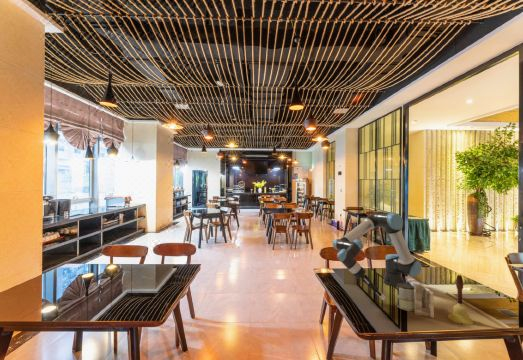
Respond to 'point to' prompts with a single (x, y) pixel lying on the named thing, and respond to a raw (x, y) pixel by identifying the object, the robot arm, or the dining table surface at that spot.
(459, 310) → the handbell
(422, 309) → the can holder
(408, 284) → the coffee can
